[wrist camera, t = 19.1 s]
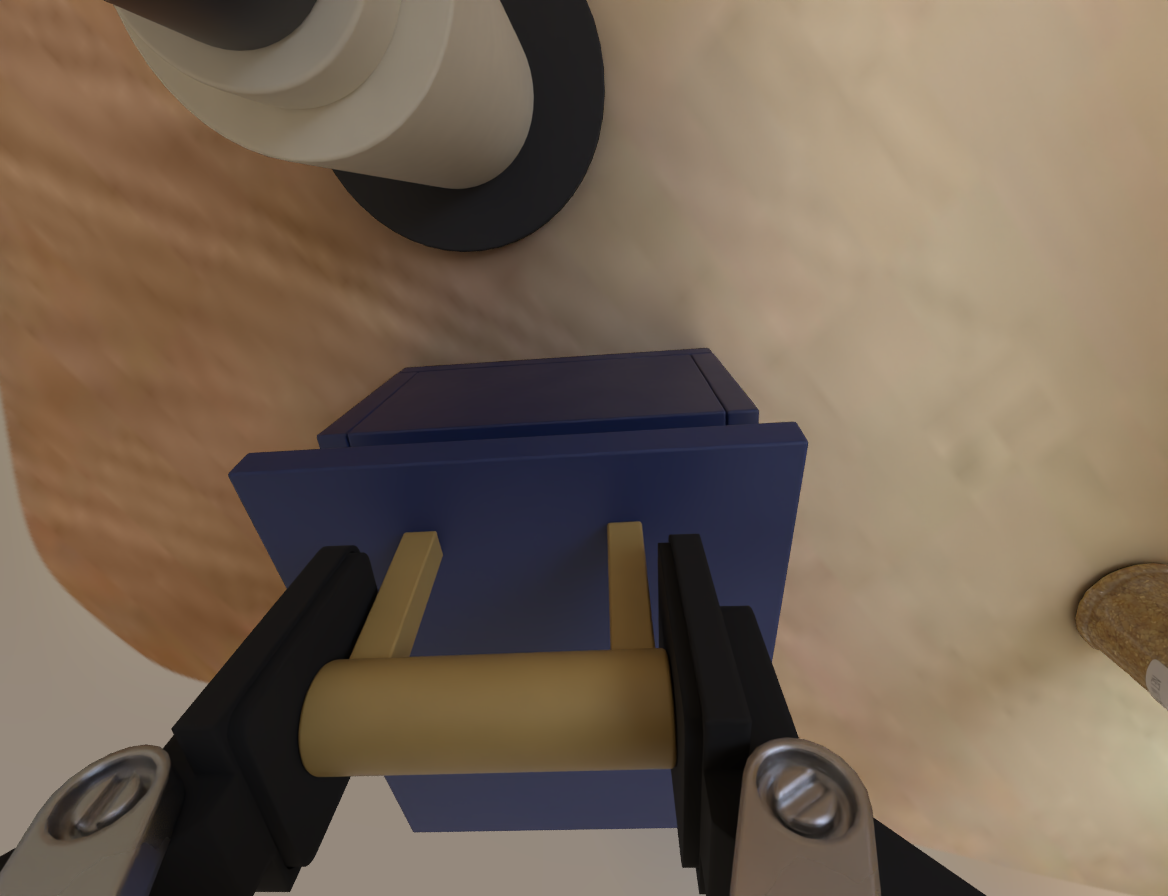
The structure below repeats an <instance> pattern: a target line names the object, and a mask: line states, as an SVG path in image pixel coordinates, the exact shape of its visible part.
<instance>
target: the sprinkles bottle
mask: <svg viewBox="0 0 1168 896" xmlns="http://www.w3.org/2000/svg"><path fill="white" fill-rule="evenodd" d="M1075 620H1076V627H1077V630H1078V632H1079V633H1080V635H1081V636H1082V638H1083V639H1084V640H1085V641H1086V642H1087V643H1088V644H1089V645H1091V646H1092V647H1093V648H1095V649H1098V650H1100V651H1102V652H1103V653H1104V654H1105V655H1107V656H1108V657H1109V658H1110V659H1111V660H1112V661H1113V662H1115V663H1116V664H1117V665H1118V666H1119V667H1120V668H1122V669H1123V670H1124V671H1125V672H1127V673H1128V674H1129V675H1130V676H1131V677H1132V678H1133V679H1134V680H1135V681H1137V682H1138V683H1139V684H1140V685H1141V686H1142V687H1144V688H1145V689H1146V690H1147V691H1149V693H1150V694H1151V696H1152V697H1153V698H1154V699H1155V700H1156V701H1157V702H1158V703H1160V704H1161V705H1162V706H1163V707H1164V708H1166V709H1167V710H1168V565H1164V564H1158V563H1150V564H1139V565H1133V566H1130V567H1126V568H1123V569H1120V570H1117V571H1115V572H1113V573H1110V574H1108V575H1107V576H1105V577H1103V578H1102V579H1101V580H1099V581H1098V582H1097V583H1096V584H1095V585H1093V586H1092V587H1091V588H1090V589H1089V590H1087V591H1086V592H1085V595H1084V597H1083V598H1082V599H1081V601H1080V602H1079V605H1078V609H1077V614H1076V617H1075Z"/></svg>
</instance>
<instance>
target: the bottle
mask: <svg viewBox="0 0 1168 896" xmlns="http://www.w3.org/2000/svg"><path fill="white" fill-rule="evenodd" d="M104 1H106V2H109V3H111V4H113V6H114V7H115V8H116V10H117V12H118V14H119V16H120V18H121V20H122V22H123V24H124V26H125V28H126V30H127V32H128V33H129V35H130V37H131V39H132V41H133V43H134V44H135V46H136V47H137V49H138V50H139V52H140V53H141V55H142V56H143V58H144V59H145V61H146V62H147V64H148V65H149V67H150V68H151V69H152V70H153V72H154V73H155V74H156V76H157V77H158V78H159V79H160V81H161V82H162V83H163V84H164V86H165V87H166V88H167V89H168V90H169V91H170V92H171V93H172V94H173V95H174V96H175V97H176V98H177V99H178V100H179V101H180V102H181V103H182V104H183V106H184V107H185V108H187V109H188V110H189V111H190V112H191V113H193V114H194V115H195V116H196V117H197V118H198V119H200V120H201V121H202V122H203V123H204V124H206V125H207V126H209V127H210V128H212V129H213V130H215V131H216V132H218V133H219V134H220V135H222V136H223V137H225V138H227V139H229V140H231V141H232V142H234V143H236V144H238V145H240V146H242V147H244V148H246V149H249V150H251V151H254V152H257V153H259V154H262V155H265V156H267V157H272V158H276V159H280V160H285V161H289V162H295V163H301V164H307V165H313V166H319V167H324V168H330V169H336V170H342V171H348V172H354V173H360V174H365V175H371V176H377V177H383V178H389V179H395V180H401V181H407V182H412V183H418V184H424V185H430V186H436V187H442V188H450V189H464V188H470V187H475V186H478V185H481V184H484V183H486V182H488V181H490V180H492V179H493V178H495V177H496V176H498V175H499V174H500V173H502V172H503V171H504V170H505V169H506V168H507V167H508V166H509V165H510V164H511V163H512V162H513V160H514V159H515V158H516V156H517V155H518V153H519V152H520V150H521V148H522V146H523V145H524V142H525V140H526V137H527V135H528V132H529V128H530V125H531V120H532V114H533V102H534V94H533V82H532V77H531V71H530V68H529V64H528V61H527V58H526V55H525V53H524V51H523V48H522V46H521V44H520V42H519V40H518V37H517V35H516V33H515V31H514V29H513V27H512V25H511V23H510V21H509V18H508V16H507V14H506V12H505V10H504V8H503V6H502V4H501V2H500V0H104Z"/></svg>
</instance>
